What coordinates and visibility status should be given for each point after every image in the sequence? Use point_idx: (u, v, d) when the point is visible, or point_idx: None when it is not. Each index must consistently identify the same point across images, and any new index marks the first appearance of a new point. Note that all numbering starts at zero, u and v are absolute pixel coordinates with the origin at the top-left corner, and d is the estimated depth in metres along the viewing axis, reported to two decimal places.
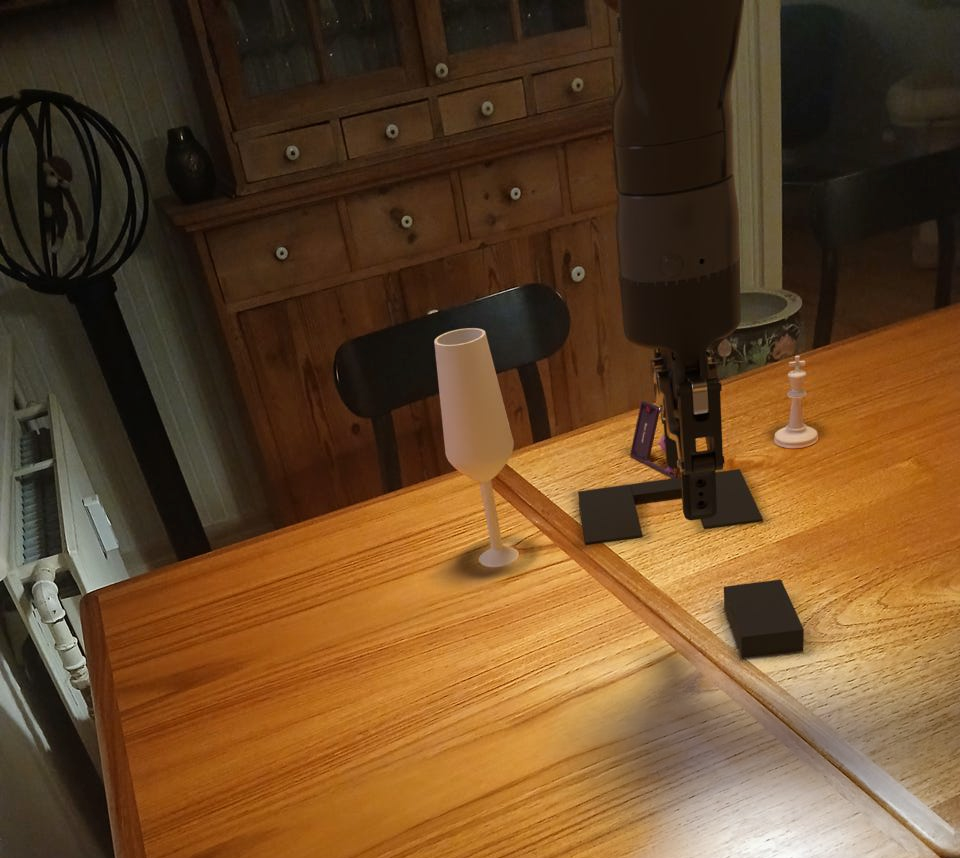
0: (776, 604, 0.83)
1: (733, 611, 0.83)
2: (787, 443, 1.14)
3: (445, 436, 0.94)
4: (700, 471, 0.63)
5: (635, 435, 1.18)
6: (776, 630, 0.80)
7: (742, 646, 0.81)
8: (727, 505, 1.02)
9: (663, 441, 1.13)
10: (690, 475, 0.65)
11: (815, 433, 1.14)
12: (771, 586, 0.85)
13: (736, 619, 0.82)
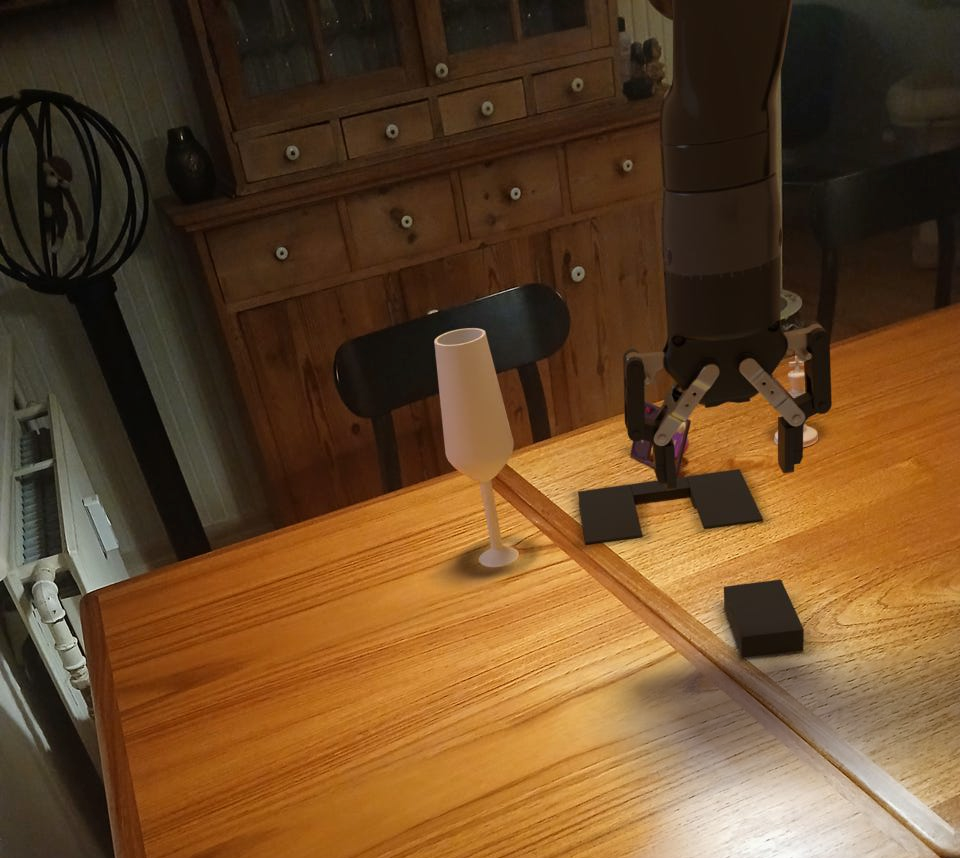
0: (776, 604, 0.83)
1: (733, 611, 0.83)
2: None
3: (445, 436, 0.94)
4: None
5: None
6: (776, 630, 0.80)
7: (742, 646, 0.81)
8: (727, 505, 1.02)
9: None
10: (804, 422, 0.70)
11: (815, 433, 1.14)
12: (771, 586, 0.85)
13: (736, 619, 0.82)
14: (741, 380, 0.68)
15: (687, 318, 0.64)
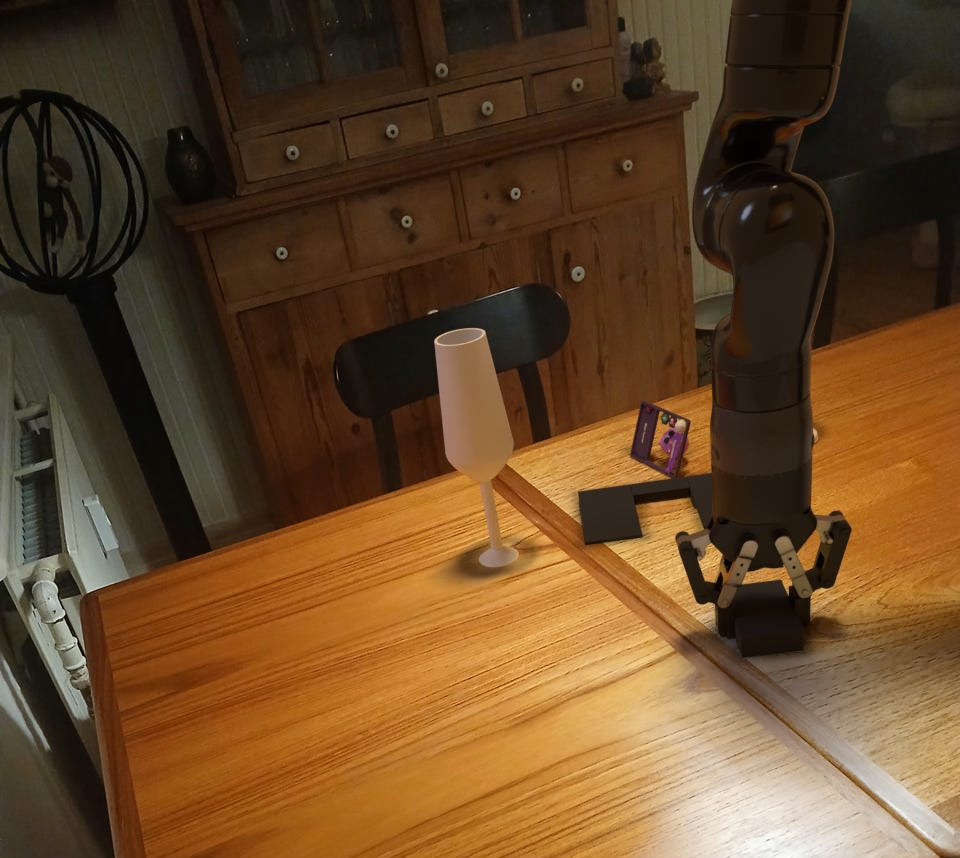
0: (776, 604, 0.83)
1: None
2: None
3: (445, 436, 0.94)
4: None
5: (635, 435, 1.18)
6: (776, 630, 0.80)
7: (742, 646, 0.81)
8: None
9: (664, 441, 1.13)
10: (811, 594, 0.82)
11: (815, 433, 1.14)
12: (771, 587, 0.85)
13: (736, 619, 0.82)
14: (776, 551, 0.79)
15: (732, 506, 0.75)
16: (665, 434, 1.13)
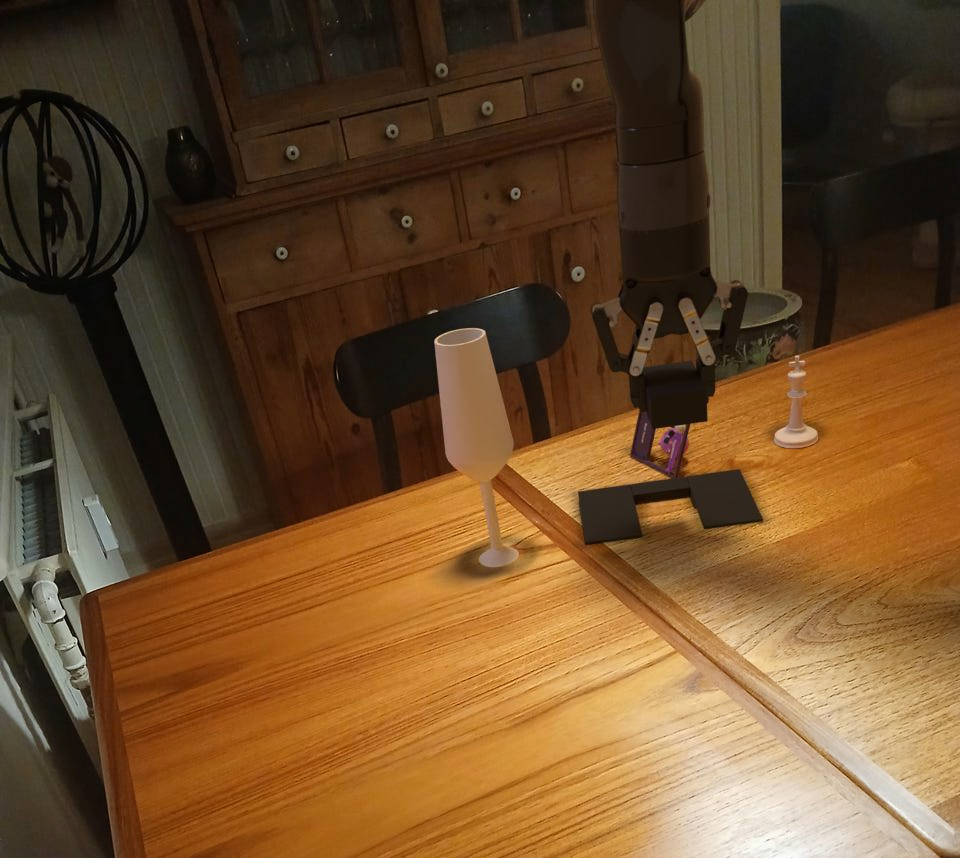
0: (684, 375, 0.91)
1: None
2: (787, 443, 1.14)
3: (445, 436, 0.94)
4: None
5: (635, 435, 1.18)
6: (682, 392, 0.88)
7: (651, 408, 0.88)
8: (727, 505, 1.02)
9: (664, 441, 1.13)
10: (715, 362, 0.89)
11: (815, 433, 1.14)
12: (682, 365, 0.93)
13: (647, 387, 0.90)
14: (681, 316, 0.86)
15: (637, 264, 0.83)
16: (665, 434, 1.13)
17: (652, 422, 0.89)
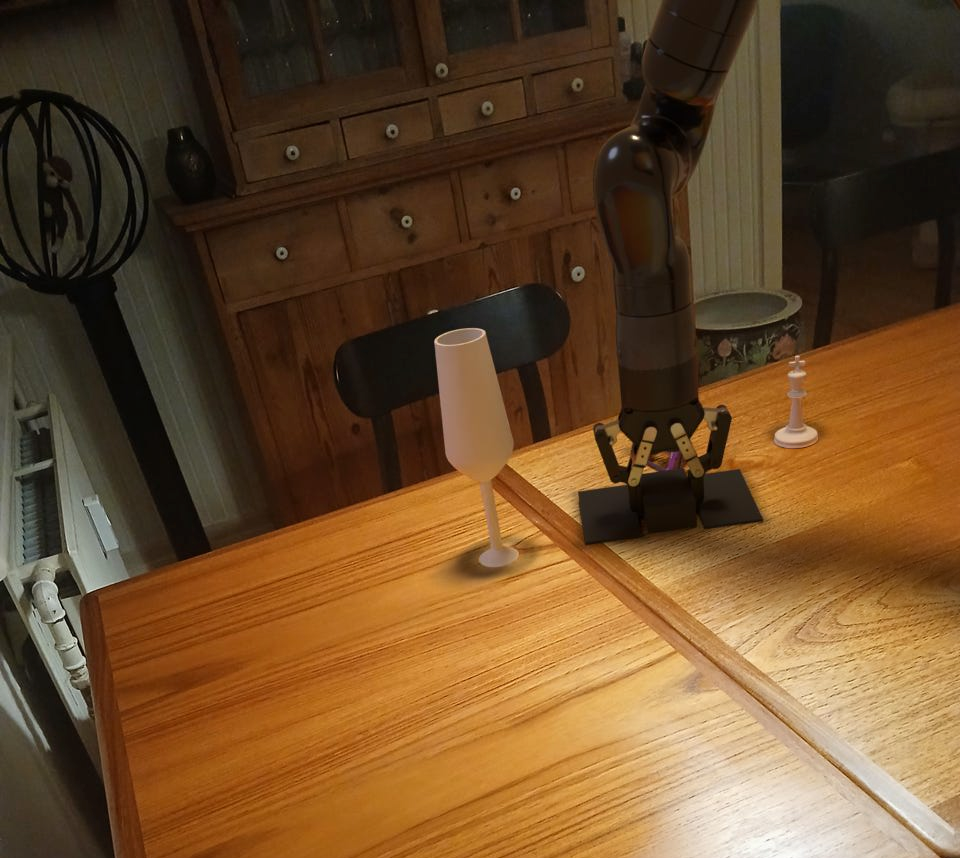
0: (677, 484, 1.02)
1: None
2: (787, 443, 1.14)
3: (445, 436, 0.94)
4: None
5: None
6: (674, 502, 0.99)
7: (647, 516, 1.00)
8: (727, 505, 1.02)
9: None
10: (703, 474, 1.01)
11: (815, 433, 1.14)
12: (675, 473, 1.05)
13: (643, 496, 1.02)
14: (672, 437, 0.98)
15: (633, 396, 0.94)
16: None
17: (648, 527, 1.01)
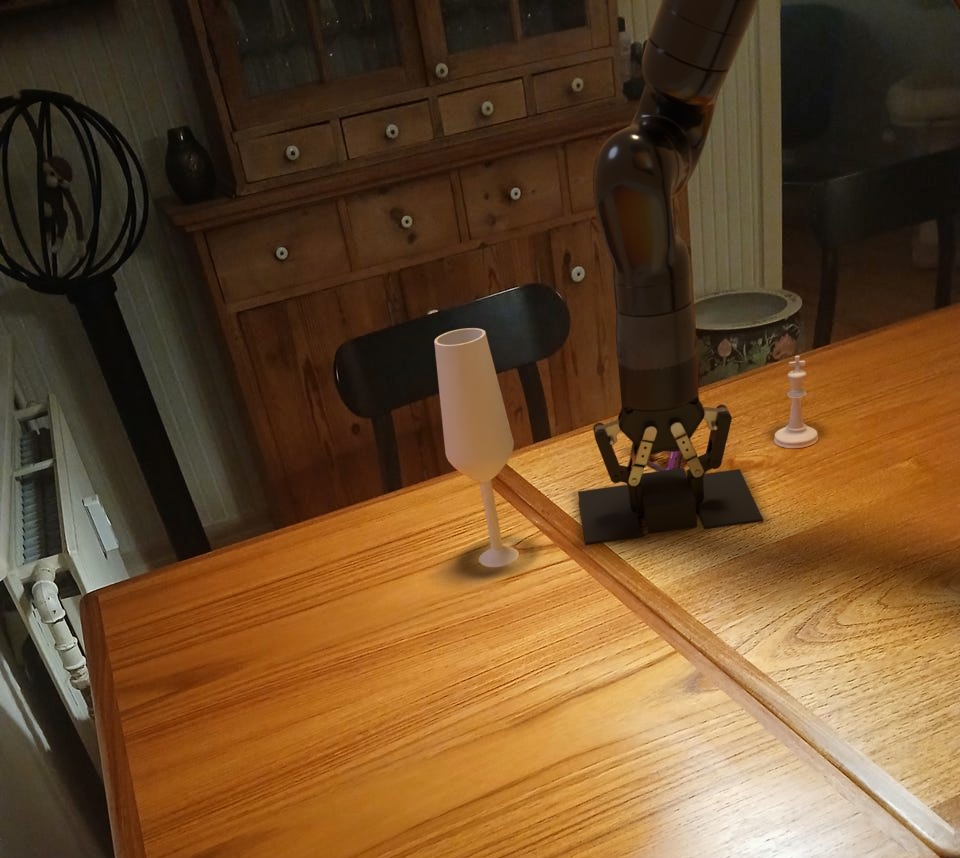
0: (677, 484, 1.02)
1: None
2: (787, 443, 1.14)
3: (445, 436, 0.94)
4: None
5: None
6: (674, 502, 0.99)
7: (647, 515, 1.00)
8: (727, 505, 1.02)
9: None
10: (703, 474, 1.01)
11: (815, 433, 1.14)
12: (675, 473, 1.05)
13: (643, 496, 1.01)
14: (673, 436, 0.98)
15: (633, 396, 0.94)
16: None
17: (648, 527, 1.01)
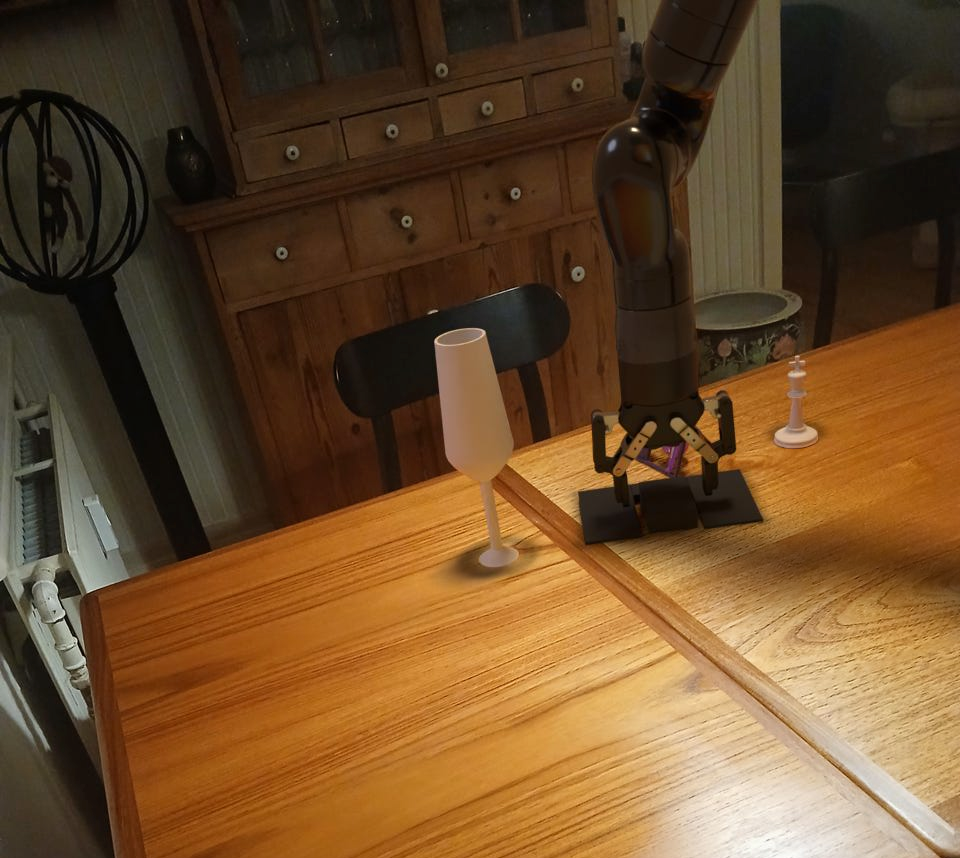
0: (678, 492, 1.03)
1: (644, 498, 1.03)
2: (787, 443, 1.14)
3: (445, 436, 0.94)
4: None
5: None
6: (675, 510, 1.00)
7: (648, 524, 1.00)
8: (727, 505, 1.02)
9: None
10: (718, 460, 1.00)
11: (815, 433, 1.14)
12: (676, 481, 1.05)
13: (645, 504, 1.02)
14: (672, 431, 0.98)
15: (633, 391, 0.94)
16: None
17: None
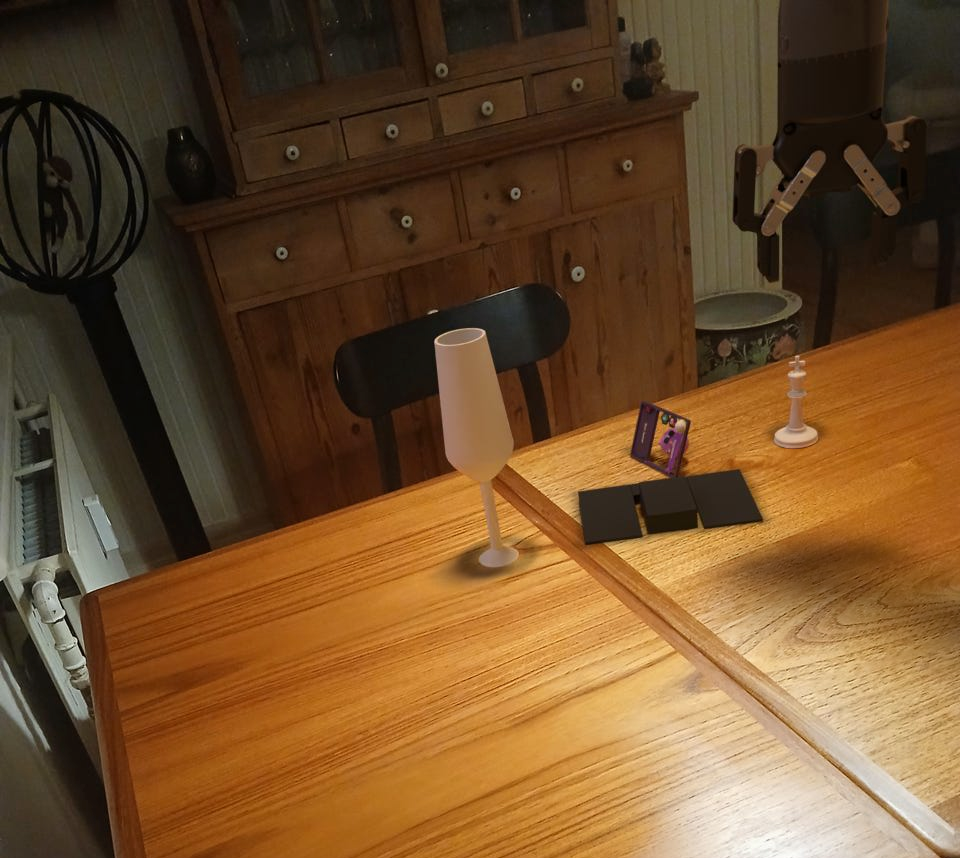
0: (678, 492, 1.03)
1: (644, 498, 1.03)
2: (787, 443, 1.14)
3: (445, 436, 0.94)
4: None
5: (635, 435, 1.18)
6: (675, 510, 1.00)
7: (648, 524, 1.00)
8: (727, 505, 1.02)
9: (664, 441, 1.13)
10: (898, 213, 0.77)
11: (815, 433, 1.14)
12: (676, 481, 1.05)
13: (645, 504, 1.02)
14: (844, 169, 0.75)
15: (801, 102, 0.72)
16: (665, 434, 1.13)
17: None
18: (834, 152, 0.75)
